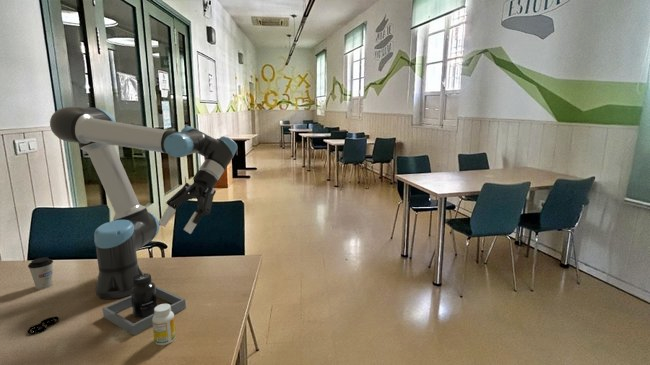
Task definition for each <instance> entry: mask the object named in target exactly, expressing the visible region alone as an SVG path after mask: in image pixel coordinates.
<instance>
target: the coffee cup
mask: <svg viewBox="0 0 650 365" xmlns="http://www.w3.org/2000/svg"><path fill="white" fill-rule="evenodd" d="M53 262H54V261H53V259H52V258H49V256H43V257H37V258H35V259H33V260H31V262H30V263H28V265H27V268H29V271H30V274H31V278H32V280H33V282H34V286H35V289H36V288H37V289H36V290H45V289H48V288H50V287H52V286H53V285H54V284H53Z"/></svg>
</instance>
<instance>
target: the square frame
mask: <svg viewBox="0 0 650 365" xmlns="http://www.w3.org/2000/svg"><path fill="white" fill-rule="evenodd" d="M156 297H157V298H159V299H161V300H163V301H165V302H167V303H168V304H169V303H170V306H171V311H172V312H173V313H174V315H176V314H177V313H179V312H181V311H183V310H185V309H186V308H187V307H186V306H187V303H186V299H185V298H183V297H180V296H178V295H176V294H174V293H172V292H169V291H167V290H165V289H164V288H161V287H158V286H156ZM130 307H132V301H131V295H129V296H126V298H125V297H124V298H123V299H121V300H120V299H119V300H118V301H116V302H114V303H111V304H109V305H107V306H105V307H102V315H103V316H102V317H103V318H104V319H105V320H108V321H109V322H111V323H113V324H114V325H115V326H117V327H118V328H121V330H123V331H125V332H127V333H129V334H130V335H132V336H136V335H138V334H140V333H143V331H145V330H147V329H149V328H151V327H153V322H152V318H153V316H154V315H155V313H154V314H152V315H150V316H148V317H146V318H141V319H139V321H138V320H137V321H136V322H135V323H133V322H132V321H130V320H128V319H126V318H125V317H123V316H121V315H120V314H118V313H119V312H122V311H123V310H125V309H129V308H130Z"/></svg>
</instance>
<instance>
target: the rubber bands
mask: <svg viewBox="0 0 650 365" xmlns="http://www.w3.org/2000/svg"><path fill="white" fill-rule="evenodd" d="M58 320H59V317H58V316H51V317H47V318H45V319H42V320H41V321H40V323H37V324H35V325H32V326H30V327H29V328H28V329H27V333H28V334H29V335H35V333H36V334H40V333H42V331H43V332H45V331H47V330H48V327H51V326H54V325H56V324H57V323H58ZM48 321H49V322H48ZM56 322H57V323H56ZM34 327H35V328H34ZM37 327H38V328H37ZM32 328H33V329H32ZM30 330H31V331H30ZM33 331H34V332H33ZM38 332H39V333H38Z"/></svg>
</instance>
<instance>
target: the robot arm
mask: <svg viewBox="0 0 650 365" xmlns="http://www.w3.org/2000/svg"><path fill="white" fill-rule="evenodd" d="M49 126H50V127H49V128H50V130H51V131H52V133H53V135H54V136H56V137H57V138H58V139H60V141H61V140H62V141H64V142H68V143H77V144H78V146H79V149H80V150H82V151H83V152H86V153H87V154H88V156H89V158H90V160H91V163H92V165H93V167H94V169H95V171H96V172H95V173H96V174H97V176H98V178H99V180H100V183H101V185H102V186H103V189H104V191H105V194H106V195H107V198H108V200H109V203H110V204H111V207H112V208H113V211H114V216H113V218H112V221H109V222H105V223H103V224H101V225H99V226H98V227H97V228H96V229H95V230H94V236H93V237H94V241H93V242H94V245H95V250H96V260H97V264H98V265H97V267H98V275H97V279H96V284H95V286H94V290H95V291H94V292H95V295H96V296H97V298H99V299H104V300H115V299H119V298H120V299H121V298H125V297H129V296H131V288H132V286H133V285H134V284H133V282H134V281H133V278H134V277H135V276H136V275H139V274H144V272H143V271H142V269H141V268H140V265H139V264H138V256H137V255H138V254H137V252H138V250H140V249H141V248H142V247H144V246H145V245H147V244H150V242H152V241H153V240H154V239H155V238H156V237H157V235H158V234H159V231H160V225H161V226H162V227H164V228H165V227H167V225H168V224H169V221H170V220H171V219H172V217H173V216H174V214H175V213H176V211H177V209H178V208H179V207H180V206H182V205H183V204H184V203H186V202H188V201H189V200H193V199H196V200H197V202H196V203H197V204H196V206H197V207H196V208H197V209H196V210H195V211H194V212H193V213H192V215H191V217H190V218H189V220H188V222H187V223H186V224H185V226H184V228H183V231H185V232H187V233H188V234H189V235H191V234H192V233H193V232H194V229H195V228H196V227H197V225H198V224H199V223H200V221H201V219H202V218H203V217H204V216H206V215H207V216H210V214H211V210H212V206H213V201H214V196H215V194H216V192H217V190H215V186H216V185H217V183H218V180H220V178H221V176H222V175H223V174H224V172H225V170H226V169H227V167H228V166H229V165H230V163H231V161H232V159H233V158H234V156H235V154H236V153H237V151H238V144H237V143H236V141H234V140H233V139H232V138H230V137H227V136H220V137H219V138H218V139H217V138H214V137H212V136H210V135H208V134H207V133H205V132H202V131H201V130H199V129H197V128H195V127H192V126H190V125H187V126H184V127H183V128H182V130H181V131H176V130H175V131H174V130H168V129H162V128H156V127H149V126H142V125H137V124H130V123H124V122H120V121H119V122H117V121H116V120H115V119H114V117H113V116H112V115H111V114H110V113H109V112H107V111H106V110H104V109H103V108H102V109H101V108H98V107H97V108H96V107H91V106H89V107H80V106H79V107H75V106H66V107H62V108H60V109H57V110H56V111H55V112H54V113H53V114H52V115H51V116H50V119H49ZM115 146H117V147H125V148H130V149H136V150H143V151H150V152H155V153H163V154H168V155H169V156H171V157H173V158H185V157H186V156H189V155H192V154H193V155H194V154H199V155H201V156H202V157H204V158H205V159H204V161H203V163H202V164H201V165H200V167H199V169H198V170H197V171H196V172H195V174H194V175H193V177H192V178H193V183H192V184H189V182H186V183H185V184H184V185H183V186H182V188H181V189H179V190H178V191H177V192H176V193H175V194H173V195H172V196H171V197H170V198H169V199H168V200H167V201H166V202H165V203H166V205H167V208H166V210H165V211H164V213H163V214H162V216H161V217H160V219H159V220H158V218H157V217H156V215H155V214H152V212H149V211H148V209H147V206H144V205H142V204H140V201H139V200H138V197H137V194H136V193H135V190H134V188H133V186H132V184H131V181H130V179H129V177H128V175H127V173H126V170H125V168H124V165H123V163H122V161H121V158H120V157H119V154H118V151H117V149H116V147H115Z"/></svg>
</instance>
